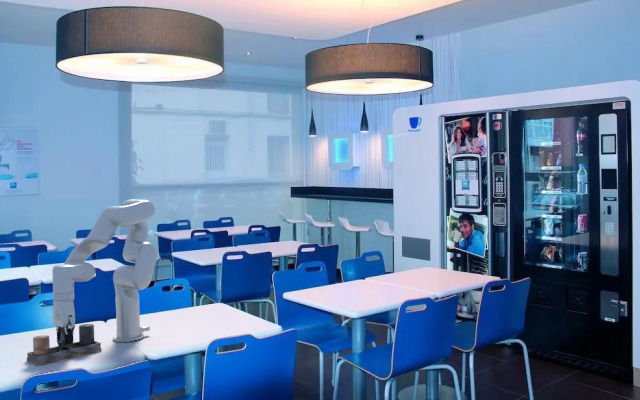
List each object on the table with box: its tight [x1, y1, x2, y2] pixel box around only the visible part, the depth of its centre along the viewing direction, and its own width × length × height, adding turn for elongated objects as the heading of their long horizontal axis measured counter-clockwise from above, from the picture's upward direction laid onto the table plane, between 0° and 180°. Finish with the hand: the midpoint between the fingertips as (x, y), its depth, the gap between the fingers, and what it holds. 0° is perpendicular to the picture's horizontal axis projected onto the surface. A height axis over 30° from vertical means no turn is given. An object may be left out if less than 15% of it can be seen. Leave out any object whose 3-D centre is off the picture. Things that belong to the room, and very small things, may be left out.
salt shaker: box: [56, 324, 72, 352], centre depth 236 cm, size 6×6×12 cm
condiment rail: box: [26, 323, 102, 367], centre depth 236 cm, size 25×10×10 cm, turn 138°
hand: (65, 341), depth 237 cm, fingers closed on salt shaker, 5 cm apart
